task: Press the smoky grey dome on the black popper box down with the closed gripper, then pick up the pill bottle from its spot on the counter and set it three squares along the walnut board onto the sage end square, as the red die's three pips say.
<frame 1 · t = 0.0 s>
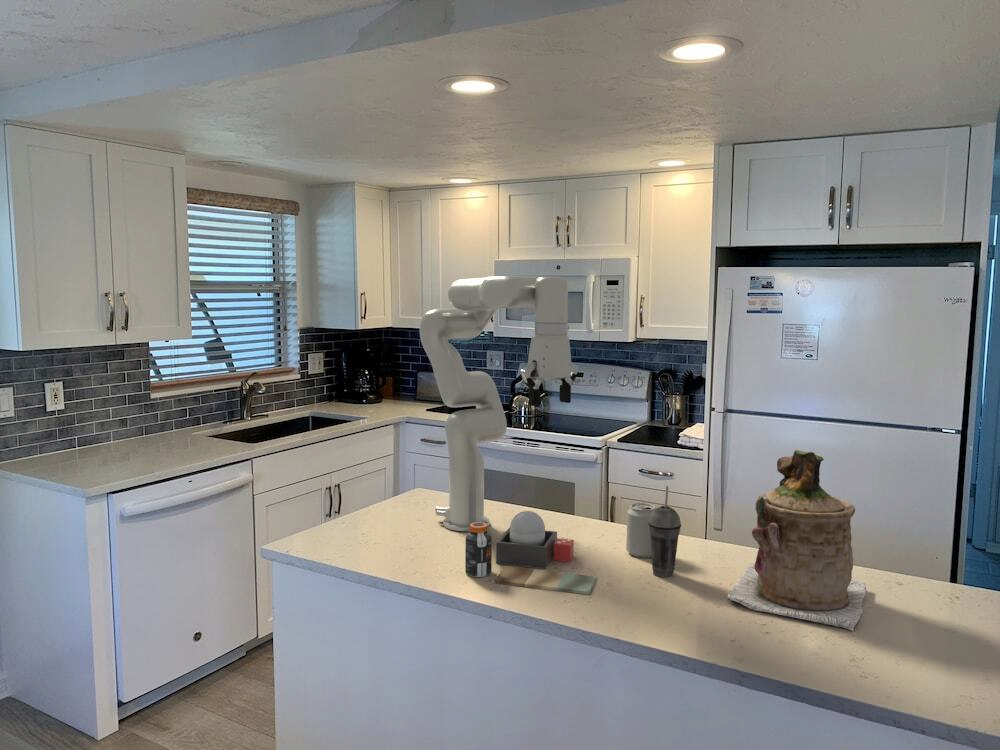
hand: (550, 404, 171), 37 cm above the counter, tool pointing down, fingers open, 9 cm apart
dome: (527, 528, 175), point 7 cm above the counter, slide at 0.0 cm
can: (641, 554, 179), on the counter
beverage cup: (663, 574, 166), on the counter
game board: (545, 580, 162), on the counter
pill bottle: (478, 573, 166), on the counter
cookie jar: (798, 599, 154), on the counter
popper box: (527, 557, 176), on the counter
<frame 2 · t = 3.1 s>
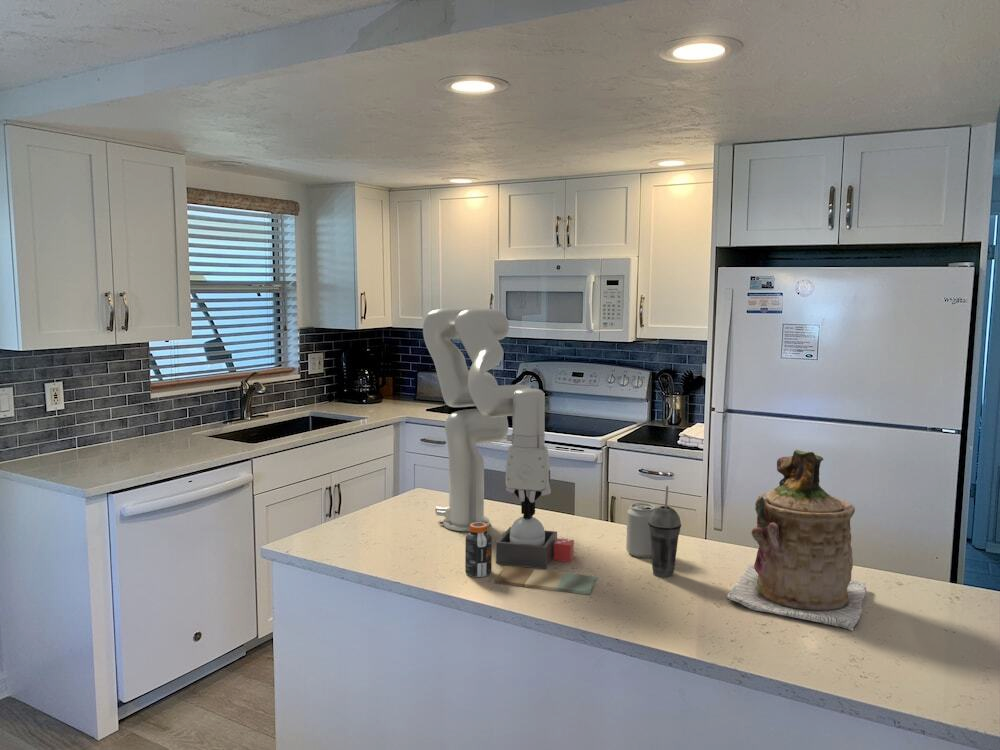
hand: (528, 517, 175), 10 cm above the counter, tool pointing down, fingers closed
dome: (527, 533, 176), point 6 cm above the counter, slide at 1.3 cm, touching gripper
everything else where it was.
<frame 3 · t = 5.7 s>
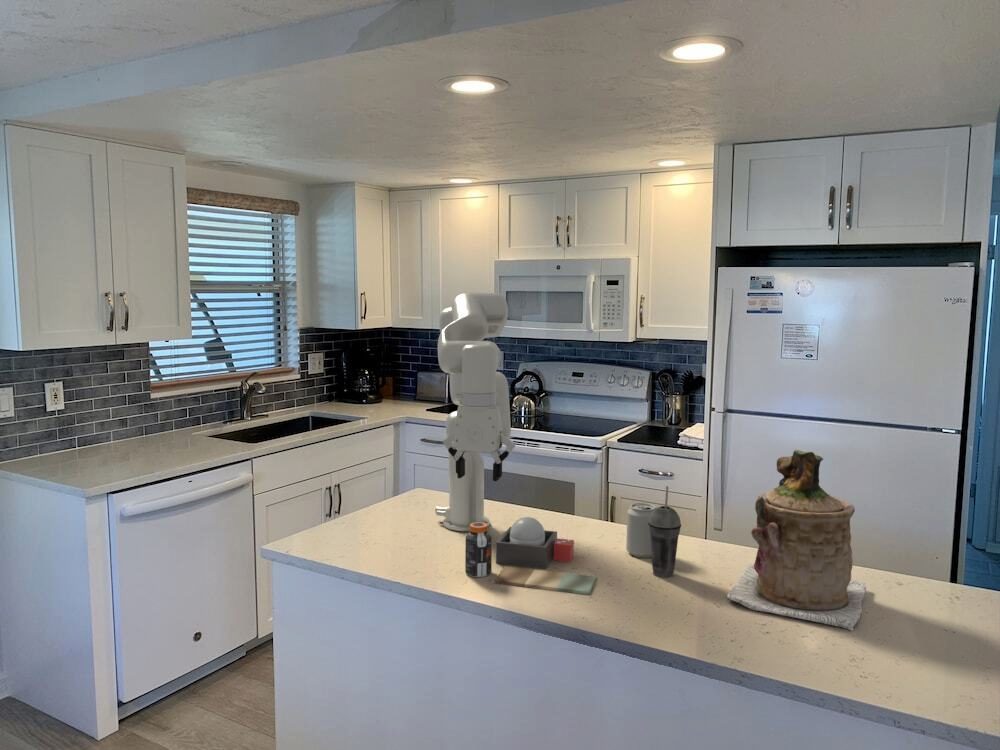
hand: (478, 477, 164), 22 cm above the counter, tool pointing down, fingers open, 7 cm apart
dome: (527, 534, 176), point 5 cm above the counter, slide at 1.5 cm
everything else where it was.
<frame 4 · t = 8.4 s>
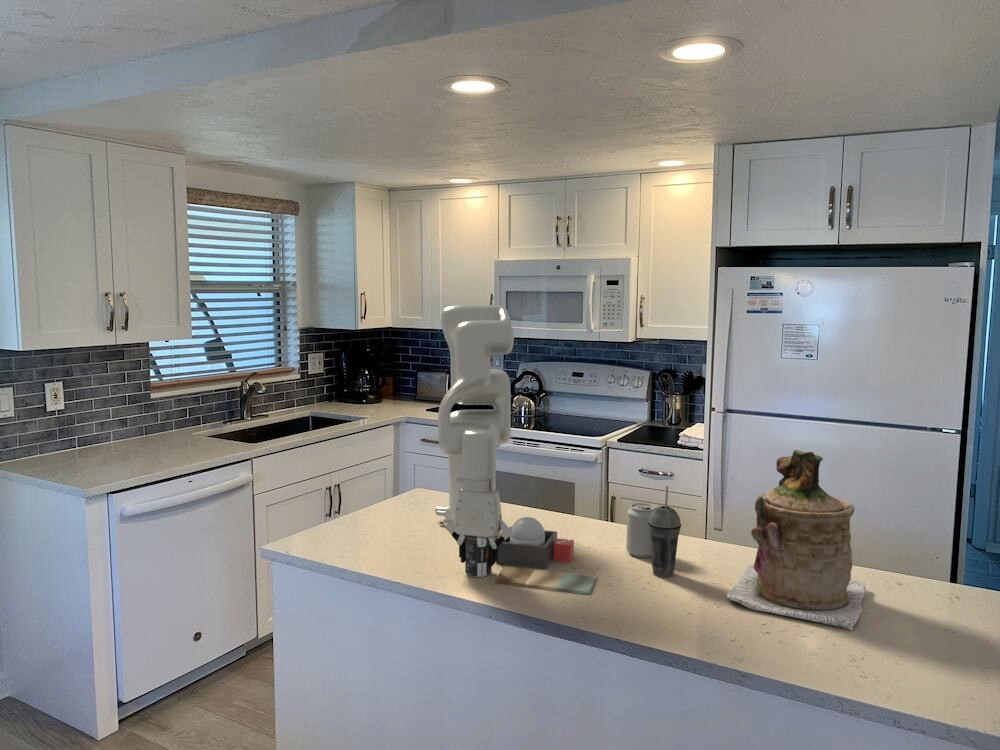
hand: (478, 561, 166), 3 cm above the counter, tool pointing down, fingers closed on pill bottle, 6 cm apart
pill bottle: (478, 573, 166), on the counter, touching gripper
everything else where it was.
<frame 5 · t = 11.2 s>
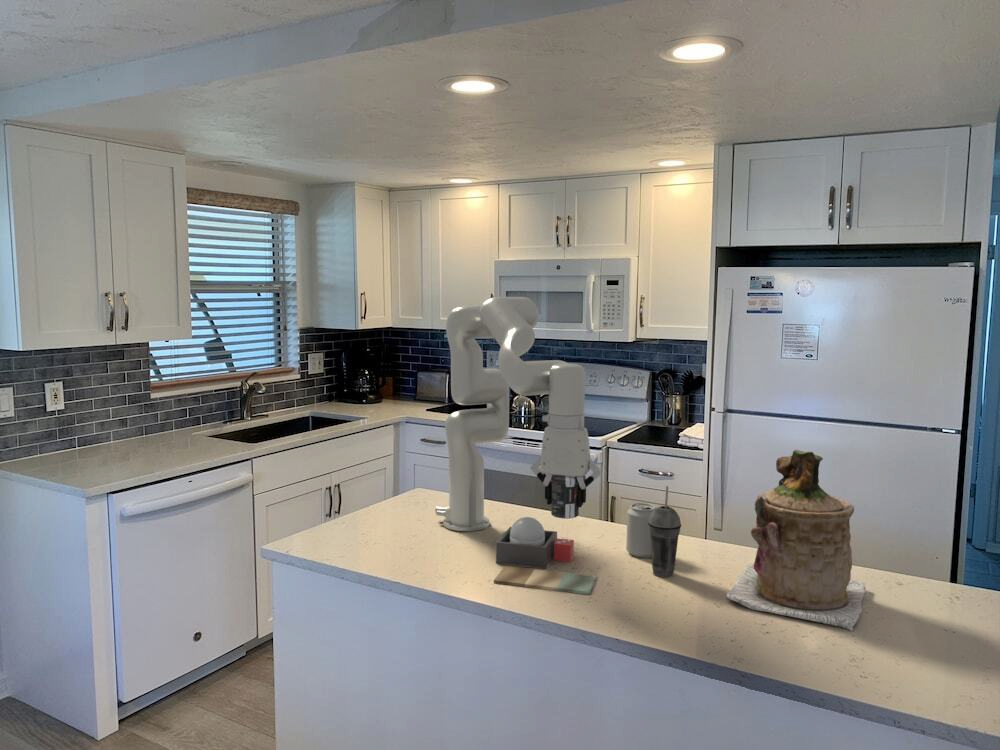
hand: (565, 503, 159), 18 cm above the counter, tool pointing down, fingers closed on pill bottle, 6 cm apart
pill bottle: (564, 516, 159), point 15 cm above the counter, touching gripper
everything else where it was.
when the fingers open (5 cm above the counter, at t = 14.4 s): pill bottle drops 1 cm, resting on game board.
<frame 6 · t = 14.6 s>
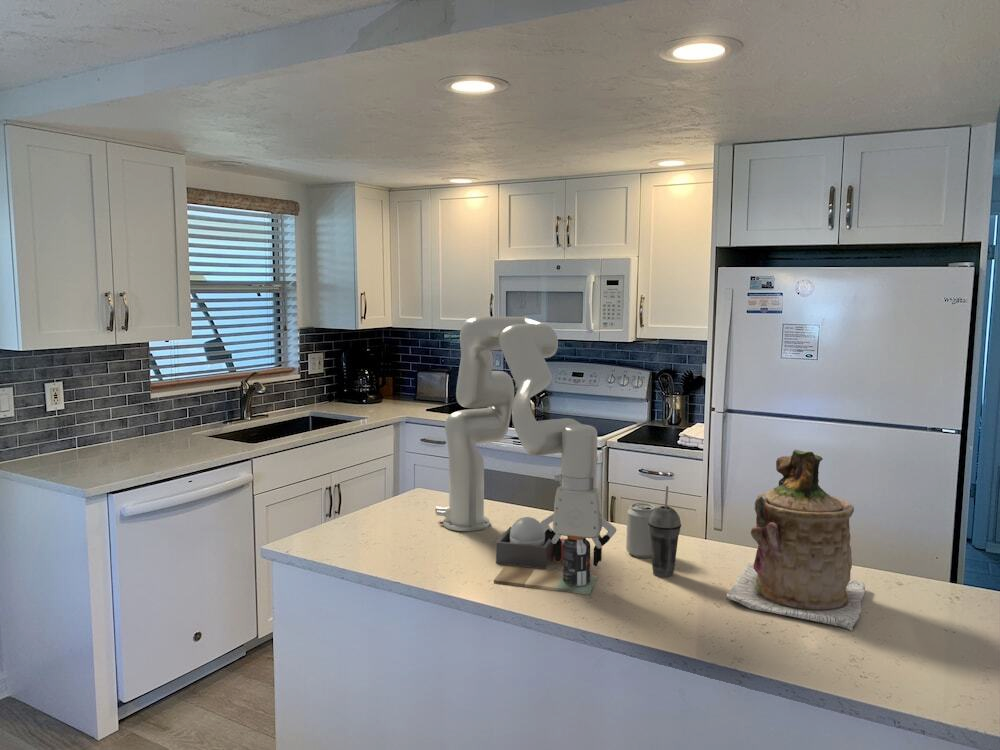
hand: (577, 561, 159), 5 cm above the counter, tool pointing down, fingers open, 7 cm apart
pill bottle: (576, 582, 160), resting on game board
everything else where it was.
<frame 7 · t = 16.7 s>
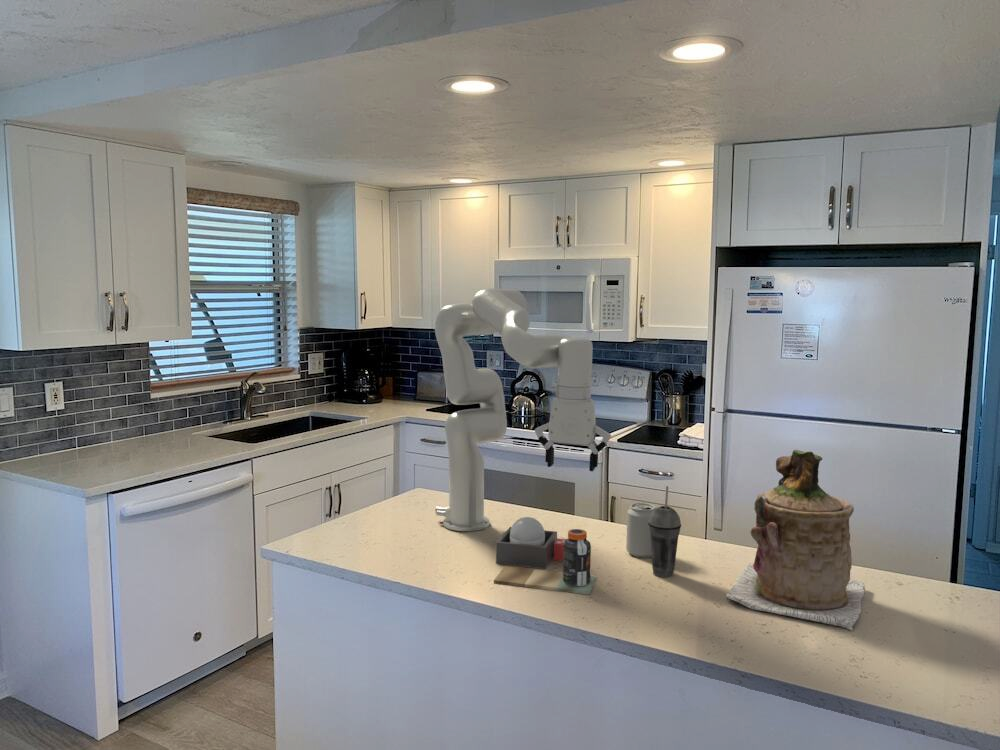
hand: (571, 467, 166), 24 cm above the counter, tool pointing down, fingers open, 9 cm apart
nothing on the counter moved.
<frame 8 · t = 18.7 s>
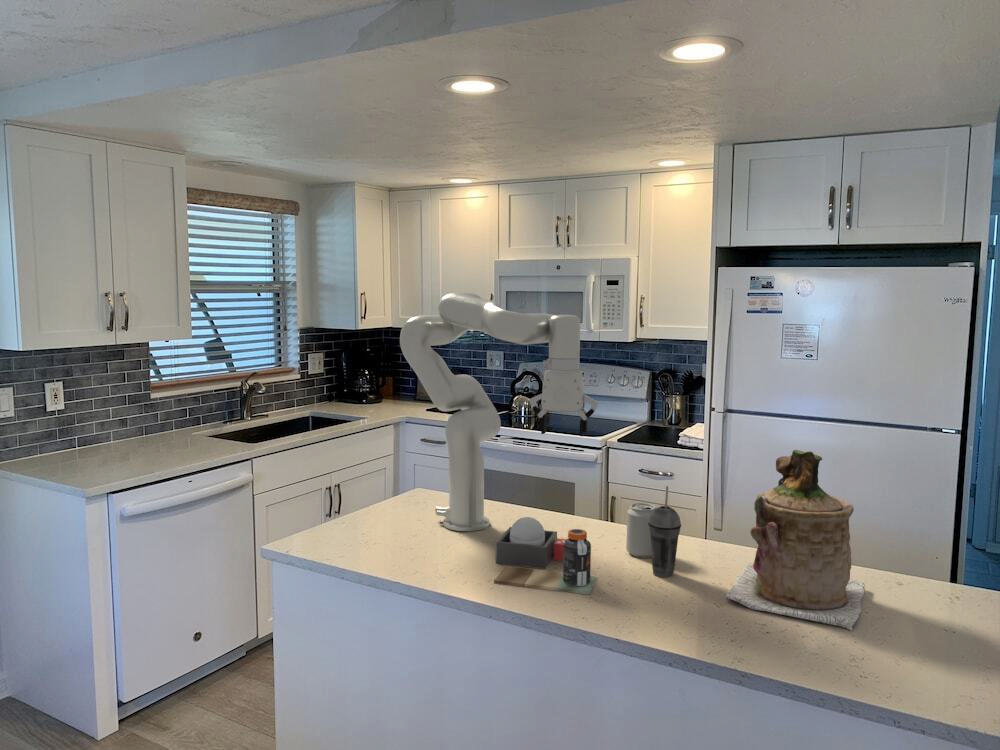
hand: (562, 434, 182), 28 cm above the counter, tool pointing down, fingers open, 9 cm apart
nothing on the counter moved.
at the end: pill bottle 0.1 cm from the target spot, resting on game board; pill bottle tilted 0°; dome slide at 1.5 cm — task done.
